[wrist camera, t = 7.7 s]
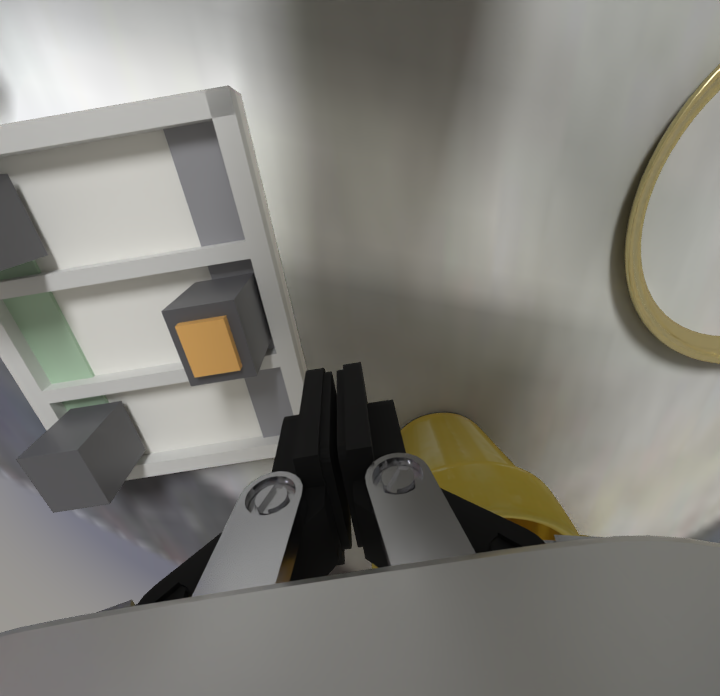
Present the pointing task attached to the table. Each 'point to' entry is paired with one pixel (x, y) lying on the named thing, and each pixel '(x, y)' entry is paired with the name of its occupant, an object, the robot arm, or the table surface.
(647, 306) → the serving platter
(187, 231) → the panel
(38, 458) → the block
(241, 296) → the block
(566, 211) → the table surface
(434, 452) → the plant pot
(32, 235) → the block
